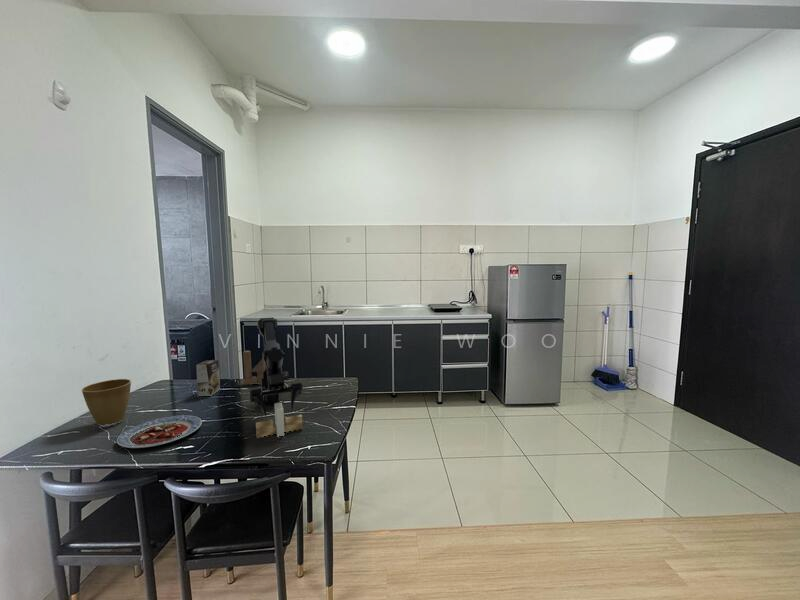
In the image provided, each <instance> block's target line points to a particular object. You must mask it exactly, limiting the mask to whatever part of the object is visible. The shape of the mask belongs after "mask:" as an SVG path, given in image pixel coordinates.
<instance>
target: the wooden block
mask: <svg viewBox="0 0 800 600" xmlns="http://www.w3.org/2000/svg"><path fill="white" fill-rule="evenodd" d="M242 354H243V371H244V372H243V374H244V378H243V385H244V384H251V383H261V378H263V376H262V375H263V373H264V371H265V369H266V367H265V360H263V358H261V359H260V361H259V362H258V363H257V364H256V365H255V366H254V367H253V368H252V357H251V356H252V355H251V354H252V353H251V350H244V351H243V352H242ZM252 373H256V375H257V376H253V375H252Z"/></svg>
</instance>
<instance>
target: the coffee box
mask: <svg viewBox="0 0 800 600" xmlns="http://www.w3.org/2000/svg"><path fill="white" fill-rule="evenodd" d="M195 367H196V381H197V382H196V385H197V397H198V396H211V397H212V395H213V394H214V395H215V393H216V392H217V393H219V392H220V391H221V386H220V385H221V384H220V365H219V359H211V360H207V359H206V360H204V361H201V362H200V363H197V364H196V366H195ZM219 390H220V391H219ZM218 391H219V392H218ZM217 393H216V394H217ZM214 395H213V396H214Z"/></svg>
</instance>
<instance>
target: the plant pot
mask: <svg viewBox="0 0 800 600" xmlns="http://www.w3.org/2000/svg"><path fill="white" fill-rule="evenodd" d="M131 384H132V380H131V379H128V378H118V379H117V378H116V379H109V380H103V381H99V382H96V383H92V384H89V385H87V386H85V387H83V388H82V389H81V392H82V393H81V394H82V395H83V399H84V401H85V404H86V407H87V408H88V411H89V413H90V414H91V416H92V418H93V420H94V421H95V423H96V424H97V425H98V424H100V425H105V424H112V423H116V422H119V421H121V420H123V421H124V420H125V416H126V412H127V410H128V405H129V400H130V394H131Z"/></svg>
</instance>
